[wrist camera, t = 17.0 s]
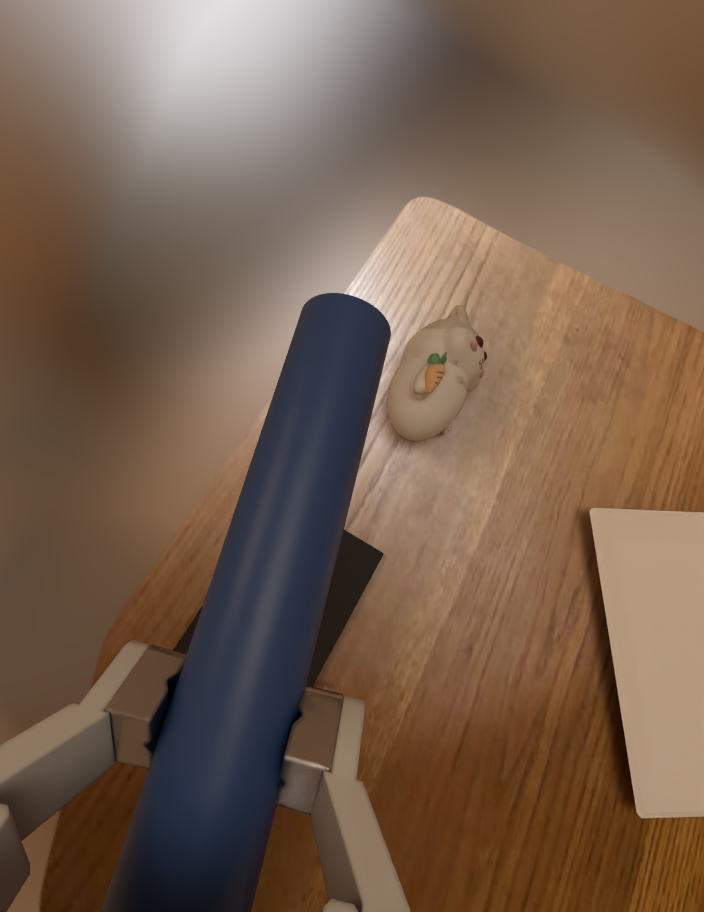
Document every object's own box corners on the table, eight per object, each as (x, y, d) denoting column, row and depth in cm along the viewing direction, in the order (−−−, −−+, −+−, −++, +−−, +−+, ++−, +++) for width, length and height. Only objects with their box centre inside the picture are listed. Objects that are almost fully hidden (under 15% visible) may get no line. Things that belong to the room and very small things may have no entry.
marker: (289, 282, 11) (-38, 1202, 6) (396, 298, 11) (151, 1298, 6) (307, 346, 14) (95, 1010, 9) (392, 361, 14) (226, 1064, 8)
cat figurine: (428, 423, 35) (493, 283, 38) (353, 404, 39) (416, 280, 42) (453, 466, 43) (505, 347, 46) (388, 446, 47) (439, 338, 50)
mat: (268, 766, 34) (268, 768, 34) (149, 687, 35) (147, 689, 35) (382, 553, 40) (383, 553, 40) (279, 491, 41) (279, 490, 41)
